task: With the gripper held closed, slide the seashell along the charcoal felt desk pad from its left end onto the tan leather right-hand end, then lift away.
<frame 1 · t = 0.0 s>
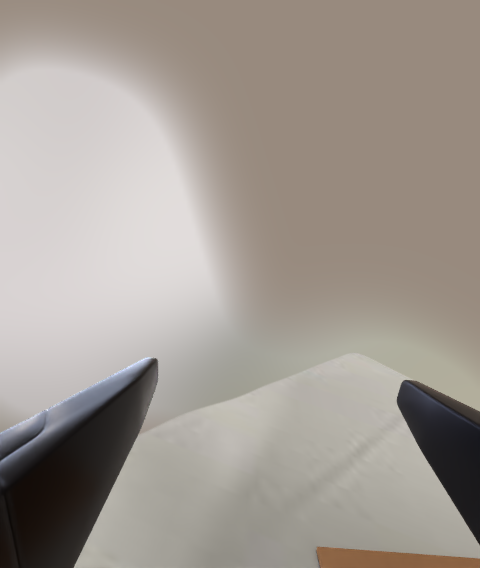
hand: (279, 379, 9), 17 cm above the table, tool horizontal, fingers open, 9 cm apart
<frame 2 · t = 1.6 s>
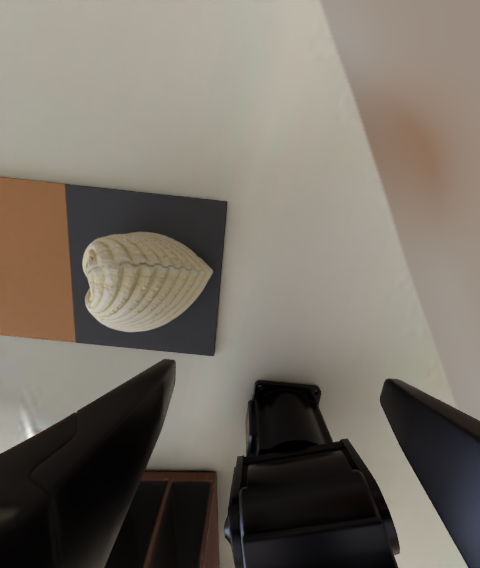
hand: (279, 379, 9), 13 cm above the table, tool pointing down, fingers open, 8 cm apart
desk pad: (96, 271, 21), on the table
seashell: (152, 277, 21), resting on desk pad
letter holder: (178, 531, 29), on the table
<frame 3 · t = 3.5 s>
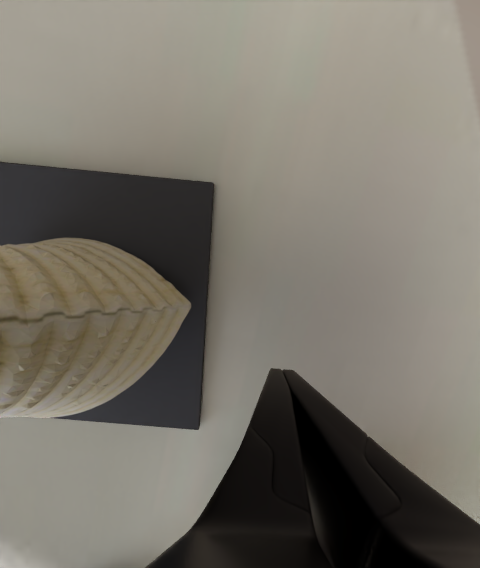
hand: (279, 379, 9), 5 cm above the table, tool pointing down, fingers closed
desk pad: (2, 302, 13), on the table
seashell: (93, 312, 13), resting on desk pad
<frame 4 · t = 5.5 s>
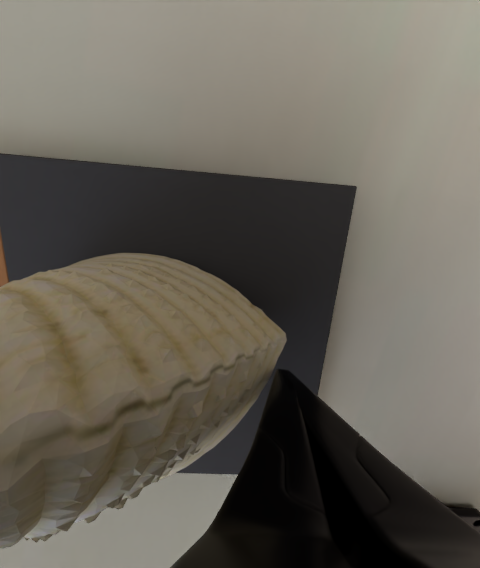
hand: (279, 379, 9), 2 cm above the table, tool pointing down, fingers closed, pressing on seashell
desk pad: (74, 336, 10), on the table
seashell: (151, 343, 10), resting on desk pad, touching gripper
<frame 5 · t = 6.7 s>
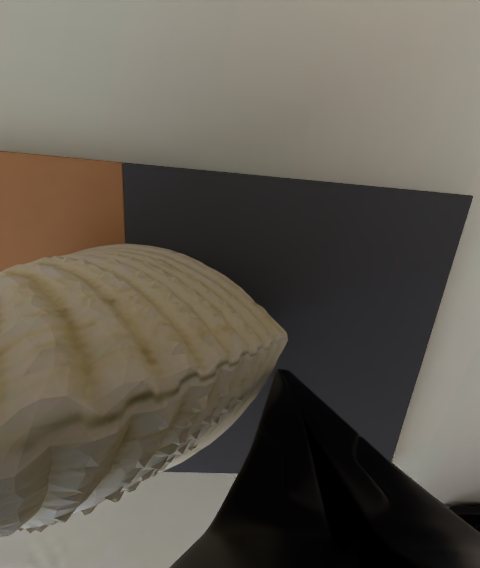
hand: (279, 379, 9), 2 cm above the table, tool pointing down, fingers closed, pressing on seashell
desk pad: (179, 341, 11), on the table
seashell: (150, 336, 10), resting on desk pad, touching gripper
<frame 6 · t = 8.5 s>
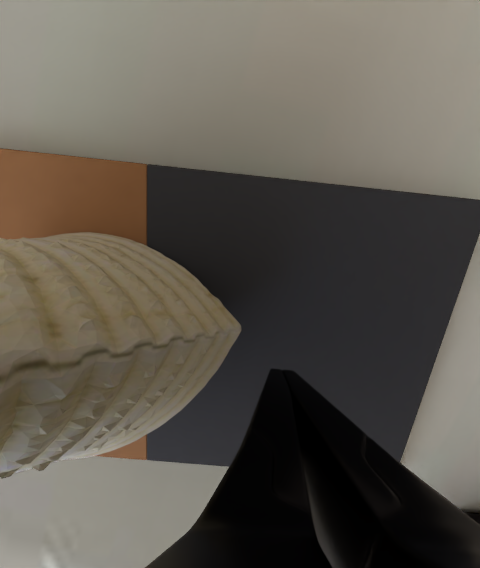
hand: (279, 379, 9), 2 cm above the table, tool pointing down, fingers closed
desk pad: (193, 337, 11), on the table
seashell: (114, 323, 11), resting on desk pad
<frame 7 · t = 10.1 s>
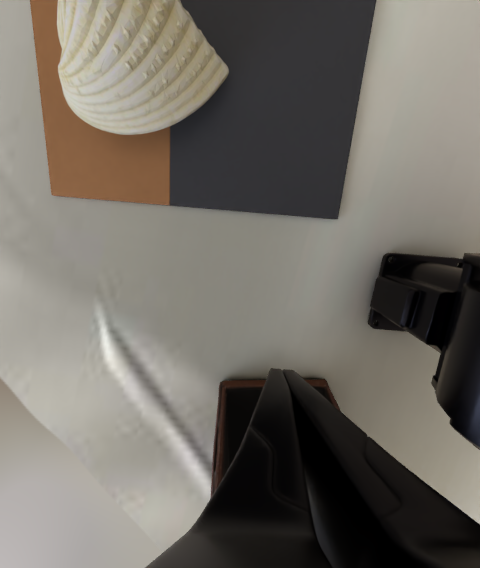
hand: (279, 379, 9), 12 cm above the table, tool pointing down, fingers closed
desk pad: (200, 104, 17), on the table
seashell: (149, 91, 17), resting on desk pad
letter holder: (271, 457, 25), on the table
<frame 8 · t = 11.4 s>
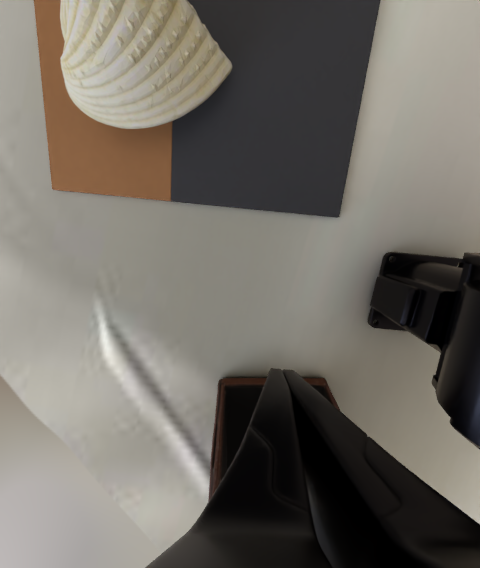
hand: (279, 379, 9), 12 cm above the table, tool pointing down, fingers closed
desk pad: (202, 100, 17), on the table
seashell: (152, 86, 16), resting on desk pad
letter holder: (269, 456, 25), on the table
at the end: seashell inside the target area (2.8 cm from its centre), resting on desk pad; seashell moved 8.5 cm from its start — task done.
